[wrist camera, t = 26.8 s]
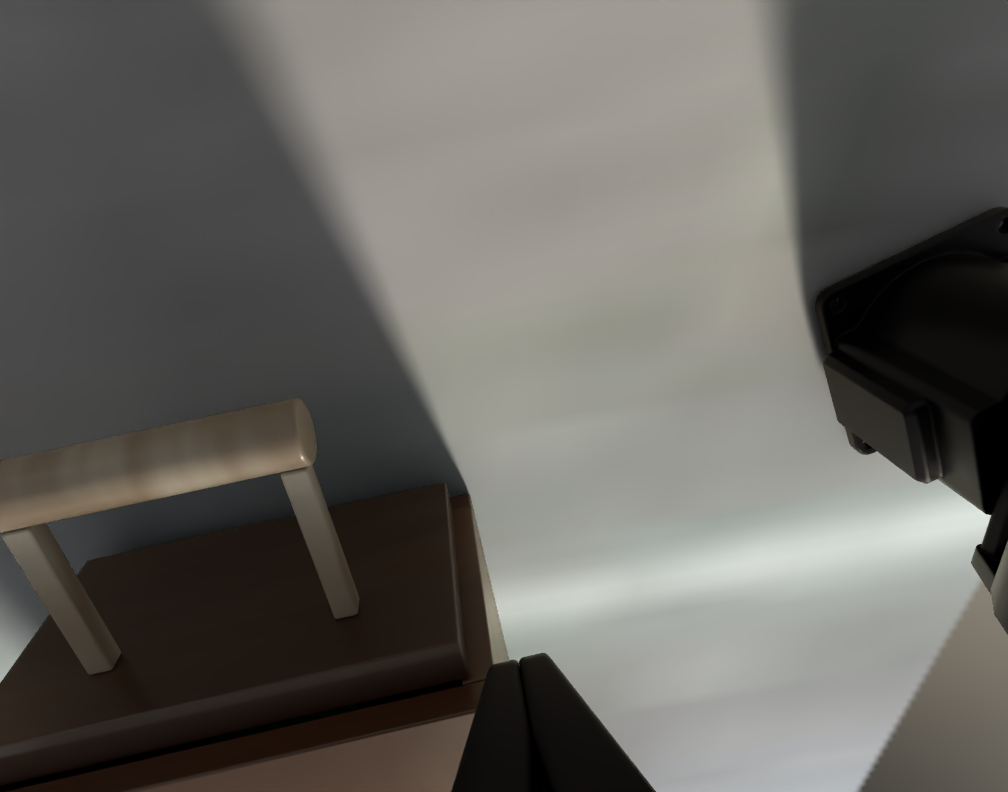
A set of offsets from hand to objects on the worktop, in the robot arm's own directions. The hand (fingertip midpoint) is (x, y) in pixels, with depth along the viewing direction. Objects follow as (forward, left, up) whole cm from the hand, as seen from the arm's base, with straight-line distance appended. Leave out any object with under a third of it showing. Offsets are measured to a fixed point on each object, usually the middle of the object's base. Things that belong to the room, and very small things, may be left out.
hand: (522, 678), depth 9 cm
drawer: (+9, +6, -11) cm, 15 cm away
